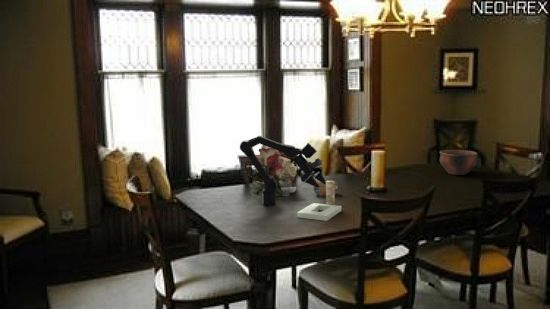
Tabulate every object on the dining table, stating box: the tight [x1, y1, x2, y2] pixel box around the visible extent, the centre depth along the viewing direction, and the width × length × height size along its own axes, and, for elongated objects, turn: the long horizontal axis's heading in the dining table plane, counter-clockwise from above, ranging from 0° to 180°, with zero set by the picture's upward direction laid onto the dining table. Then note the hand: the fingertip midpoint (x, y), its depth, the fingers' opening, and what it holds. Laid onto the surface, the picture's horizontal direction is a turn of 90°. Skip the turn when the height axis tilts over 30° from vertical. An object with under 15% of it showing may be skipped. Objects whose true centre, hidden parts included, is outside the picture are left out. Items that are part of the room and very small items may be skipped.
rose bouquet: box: [249, 146, 298, 197], centre depth 322 cm, size 26×29×30 cm
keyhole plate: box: [296, 202, 342, 222], centre depth 272 cm, size 20×16×2 cm
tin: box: [313, 180, 340, 197], centre depth 312 cm, size 15×3×8 cm, turn 101°
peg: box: [325, 180, 336, 205], centre depth 283 cm, size 4×4×14 cm
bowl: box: [439, 149, 478, 176], centre depth 361 cm, size 25×25×15 cm
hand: (322, 185), depth 285 cm, fingers open, 9 cm apart
